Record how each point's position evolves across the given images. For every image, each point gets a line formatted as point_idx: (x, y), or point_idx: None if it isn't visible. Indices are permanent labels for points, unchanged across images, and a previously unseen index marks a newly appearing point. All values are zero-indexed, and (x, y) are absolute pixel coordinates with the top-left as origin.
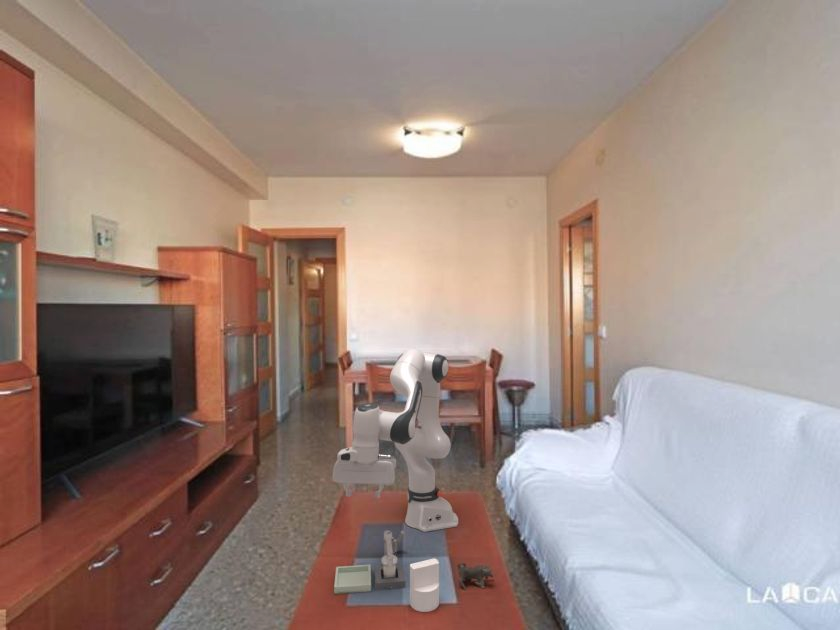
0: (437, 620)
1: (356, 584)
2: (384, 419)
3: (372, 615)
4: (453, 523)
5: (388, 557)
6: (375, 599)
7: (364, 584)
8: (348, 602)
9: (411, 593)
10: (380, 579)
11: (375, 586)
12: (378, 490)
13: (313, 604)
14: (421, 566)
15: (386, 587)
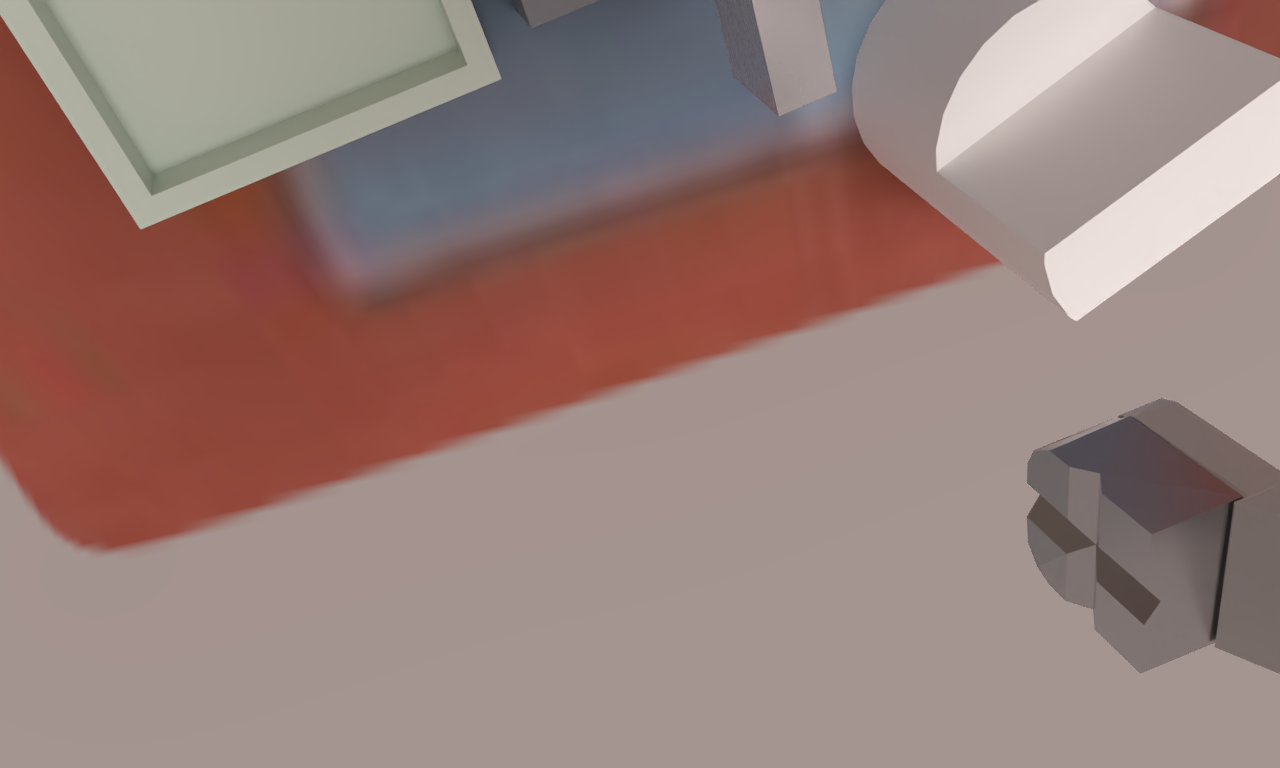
0: None
1: (349, 116)
2: None
3: (599, 329)
4: None
5: (778, 109)
6: (564, 150)
7: (432, 93)
8: (344, 257)
9: (921, 191)
10: None
11: (524, 19)
12: (1263, 555)
13: (40, 376)
14: (1149, 254)
15: None
